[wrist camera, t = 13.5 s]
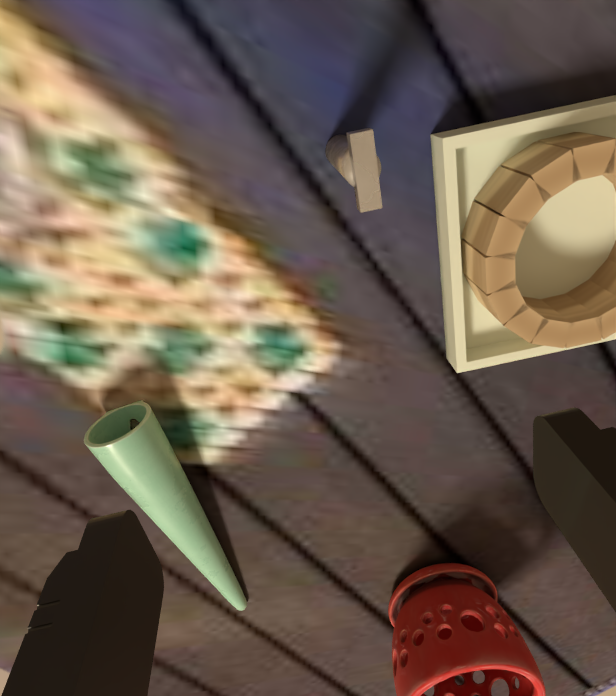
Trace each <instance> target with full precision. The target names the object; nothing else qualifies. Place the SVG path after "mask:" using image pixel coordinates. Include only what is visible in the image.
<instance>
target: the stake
mask: <svg viewBox="0 0 616 696" xmlns="http://www.w3.org/2000/svg"><path fill="white" fill-rule="evenodd" d="M346 134H347V136H345V135H336V136H334V137H332V138H331V139H330V140H329V141H328V143H327V145H326V149H325V153H326V157H327V159H328V161H329V162H330V163H331V164H332V165H333V166H334V167H335V168H336V169H337V170H338V171H339V173H340V174H341V175H342V176H343V177H344V178H345V179H346V180H347V181H348V182H349V183H350V184H351V185H352V186H354V190H355V197H356V204H357V209H358V210H359V211H360V213H361V212H366V211H371V210H375V209H380V208H382V201H381V193H380V184H379V176H380V173H381V163H380V160H379V158H378V157H377V155H376V151H375V143H374V134H373V129H371V128H365V129H361V130H356V131H351V132H347V133H346Z"/></svg>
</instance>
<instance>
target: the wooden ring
mask: <svg viewBox="0 0 616 696" xmlns="http://www.w3.org/2000/svg"><path fill="white" fill-rule="evenodd" d="M501 165H502V167H500V166H499V167H498V168H497V169H496V171H495V172H494V173H493V175H492V176H491V177H490V178H489V180H488V181H487V182H486V184H485V185H484V186H483V188H482V189H481V190H480V192H479V193H478V194H477V196H476V197H475V198H474V199H475V200H477V201H478V202H475V201H473V202H472V205H471V208H470V211H469V214H468V217H467V220H466V224H465V227H464V230H463V233H462V236H461V237H462V238H463V239H461V250H462V265H463V273H464V276H465V278H466V280H467V282H468V283H469V285H470V287H471V289H472V291H473V292H474V294H475V296H476V298H477V300H478V301H479V302H480V303H481V304H482V305H483V306H484V307H485V308H486V309H487V310H488V311H489V312H490V313H491V314H492V315H493V316H494V317H495V318H496V319H497V320H498V321H499V322H500V323H501V324H502V325H503V326H505V327H506V328H508V329H509V330H511V331H512V332H514V333H515V334H517V335H518V336H520V337H521V338H523V339H524V340H526V341H527V342H529V343H531V344H537V345H544V346H551V347H558V348H564V347H565V348H569V347H574V346H578V345H583V344H587V343H592V342H596V341H600V340H601V338H602V339H605V338H607V337H609V336H610V335H612V334H614V333H616V241H615V243H614V245H613V248H612V250H611V252H610V254H609V256H608V258H607V260H606V261H605V262H604V263H603V264H602V265H601V266H600V267H599V269H598V270H597V271H596V272H595V273H594V274H593V275H592V276H591V277H590V279H589V280H587V281H585V282H584V283H582V284H580V285H579V286H577V287H575V288H574V289H572V290H570V291H569V292H567V293H565V294H561V295H557V296H552V297H548V298H544V299H536V298H530V297H523V296H522V295H521V293H520V291H519V289H518V287H517V285H516V281H515V255H516V252H517V250H518V247H519V244H520V242H521V239H522V236H523V234H524V231H525V228H526V226H527V225H528V223H529V222H530V221H531V220H532V219H533V217H534V216H535V215H536V214H537V212H538V211H539V210H540V209H541V208H542V206H543V205H544V204H545V203H546V201H547V200H548V199H550V198H551V197H553V196H554V195H556V194H557V193H559V192H561V191H562V190H564V189H565V188H567V187H568V186H570V185H571V184H573V183H575V182H576V181H578V180H583V179H587V178H592V177H596V176H600V175H603V176H604V177H605V178H607V179H608V180H609V181H610V182H611V183H612V184H613V186H614V188H615V191H616V138H611V137H605V136H599V135H593V134H588V133H582V132H572V133H568V134H563V135H559V136H554V137H550V138H546V139H541V140H538V142H533V143H532V144H530V145H529V146H527V147H526V148H525V149H523V150H522V151H520V152H519V153H517V154H516V155H514V156H513V157H511V158H510V159H508V160H507V161H505V162H504V163H502V164H501Z"/></svg>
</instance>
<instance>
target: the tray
mask: <svg viewBox="0 0 616 696" xmlns="http://www.w3.org/2000/svg"><path fill="white" fill-rule="evenodd" d="M572 132H582V133H588V134H593V135H599V136H605V137H611V138H616V95H613V96H609V97H604V98H599V99H594V100H590V101H585V102H580V103H576V104H571V105H566V106H562V107H557V108H552V109H548V110H543V111H538V112H534V113H529V114H524V115H520V116H515V117H510V118H506V119H501V120H496V121H492V122H487V123H482V124H477V125H473V126H468V127H463V128H459V129H454V130H449V131H445V132H440V133H435V134H431V148H432V162H433V176H434V189H435V203H436V217H437V231H438V245H439V259H440V273H441V286H442V300H443V314H444V328H445V342H446V356H447V359H448V361H449V362H450V364H451V365H452V366H453V368H454V369H455V371H456V372H457V373H460V372H465V371H469V370H474V369H479V368H483V367H488V366H493V365H497V364H502V363H507V362H511V361H516V360H521V359H525V358H530V357H535V356H539V355H544V354H549V353H553V352H558V351H563V350H567V349H572V348H577V347H581V346H586V345H590V344H595V343H600V342H604V341H609V340H614V339H616V333H614V334H612V335H610V336H609V337H607V338H605V339H602V338H601V340H600V341H596V342H592V343H587V344H583V345H578V346H574V347H569V348H565V347H564V348H558V347H551V346H544V345H537V344H531V343H529V342H527V341H526V340H524V339H523V338H521V337H520V336H518V335H517V334H515V333H514V332H512V331H511V330H509V329H508V328H506V327H505V326H503V325H502V324H501V323H500V322H499V321H498V320H497V319H496V318H495V317H494V316H493V315H492V314H491V313H490V312H489V311H488V310H487V309H486V308H485V307H484V306H483V305H482V304H481V303H480V302H479V301H478V300H477V298H476V296H475V294H474V292H473V291H472V289H471V287H470V285H469V283H468V282H467V280H466V278H465V276H464V273H463V265H462V250H461V239H463V238H462V237H461V236H462V233H463V230H464V227H465V224H466V220H467V217H468V214H469V211H470V208H471V205H472V202H473V201H475V202H478V201H477V200H475V199H474V198H475V197H476V196H477V194H478V193H479V192H480V190H481V189H482V188H483V186H484V185H485V184H486V182H487V181H488V180H489V178H490V177H491V176H492V175H493V173H494V172H495V171H496V169H497V168H498V167H499V166H500V167H502V165H501V164H502V163H504V162H505V161H507V160H508V159H510V158H511V157H513V156H514V155H516V154H517V153H519V152H520V151H522V150H523V149H525V148H526V147H527V146H529V145H530V144H532V143H533V142H538V140H541V139H546V138H550V137H554V136H559V135H563V134H568V133H572ZM615 241H616V191H615V188H614V186H613V184H612V183H611V182H610V181H609V180H608V179H607V178H605V177H604V176H603V175H600V176H596V177H592V178H587V179H583V180H578V181H576V182H575V183H573V184H571V185H570V186H568V187H567V188H565V189H564V190H562V191H561V192H559V193H557V194H556V195H554V196H553V197H551V198H550V199H548V200H547V201H546V203H545V204H544V205H543V206H542V208H541V209H540V210H539V211H538V212H537V214H536V215H535V216H534V217H533V219H532V220H531V221H530V222H529V223H528V225H527V226H526V228H525V231H524V234H523V236H522V239H521V242H520V244H519V247H518V250H517V252H516V255H515V281H516V285H517V287H518V289H519V291H520V293H521V295H522V296H523V297H530V298H536V299H544V298H548V297H552V296H557V295H561V294H565V293H567V292H569V291H570V290H572V289H574V288H575V287H577V286H579V285H580V284H582V283H584V282H585V281H587V280H589V279H590V277H591V276H592V275H593V274H594V273H595V272H596V271H597V270H598V269H599V267H600V266H601V265H602V264H603V263H604V262H605V261H606V260H607V258H608V256H609V254H610V252H611V250H612V248H613V245H614V243H615Z"/></svg>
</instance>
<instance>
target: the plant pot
mask: <svg viewBox="0 0 616 696" xmlns="http://www.w3.org/2000/svg"><path fill="white" fill-rule="evenodd" d="M388 613H389V618H390V621H391V623H392V625H393V627H394V632H393V640H392V660H393V673H394V681H395V688H396V693H397V696H426V695H425V694H424V692H425V691H426V690H427V689H429V688H430V687H432V686H434V695H433V696H448V695H450V696H473V695H474V694H478V695H479V696H492V695H491V687H492V685H493V683H494V681H496V680H497V679H504V680H505V681H506V682H507V684H508V687H509V696H545V686H544V682H543V680H542V677H541V674H540V672H539V669H538V667H537V665H536V662H535V660H534V658H533V656H532V654H531V652H530V650H529V649H528V647H527V645H526V643H525V641H524V639H523V637H522V636H521V634H520V632H519V631H518V629H517V627H516V626H515V624H514V623H513V621H512V620H511V618H510V617H509V616H508V614H507V613H506V612H505V611H504V609H503V608H502V607H501V606H500V605H499V604H498V603H497V590H496V587H495V585H494V584H493V582H492V581H491V580H490V579H489V578H488V577H487V576H486V575H485V574H484V573H482V572H481V571H479V570H478V569H476V568H473V567H471V566H468V565H464V564H458V563H441V564H435V565H431V566H428V567H425V568H422V569H420V570H418V571H416V572H414V573H412V574H411V575H409V576H408V577H407V578H405V579H404V580H403V581H402V582H401V583H400V584H399V585H398V587H397V588H396V589H395V591H394V593H393V595H392V597H391V599H390V602H389V608H388ZM477 670H481V671H482V672H483V673H484V675H485V681H484V682H483V683H481V684H477V683H475V682H474V681H473V673H474V672H475V671H477ZM457 675H460V676H462V677H463V678H464V684H463V685H457V684H456V682H455V676H457ZM516 677H517V678H518V680H519V688H518V689H517V688H516V686H515V679H516Z"/></svg>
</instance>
